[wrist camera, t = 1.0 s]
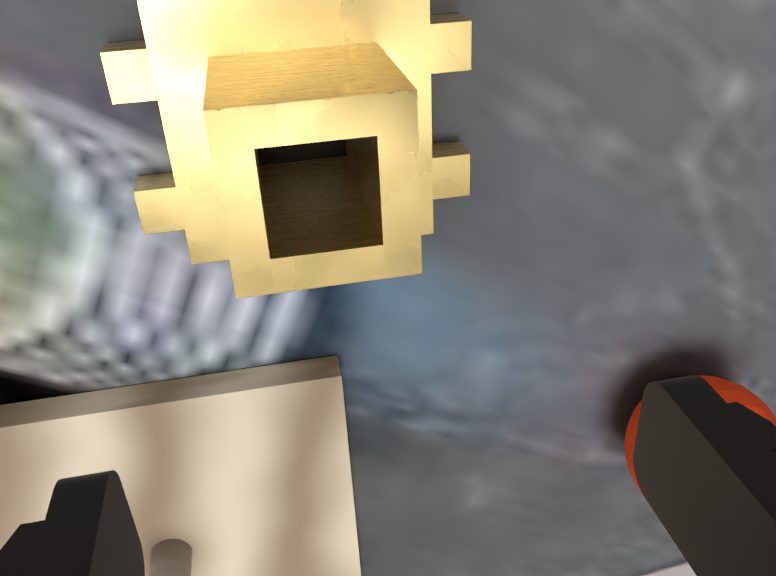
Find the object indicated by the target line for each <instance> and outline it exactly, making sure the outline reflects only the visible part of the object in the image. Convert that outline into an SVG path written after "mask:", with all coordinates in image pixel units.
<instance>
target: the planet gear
mask: <svg viewBox="0 0 776 576" xmlns="http://www.w3.org/2000/svg"><path fill="white" fill-rule="evenodd" d="M137 3H138V8H139V13H140V18H141V22H142V27H143V32H144V37H145V40H134V41H122V42H111V43H107V44H106V45H105V46H104V48H103V49H102V51H101V52H100V55H101V59H102V63H103V67H104V71H105V75H106V79H107V84H108V88H109V92H110V96H111V100H112V104H122V103H132V102H143V101H153V100H158V104H159V109H160V114H161V119H162V123H163V128H164V133H165V138H166V143H167V147H168V152H169V157H170V162H171V167H172V171H173V172H170V173H161V174H152V175H143V176H138V178H137V182H136V185H135V189H134V196H135V200H136V204H137V208H138V212H139V217H140V221H141V225H142V229H143V233H144V234H151V233H159V232H168V231H176V230H184V229H185V234H186V239H187V243H188V248H189V253H190V258H191V263H192V264H198V263H206V262H214V261H222V260H229V262H230V267H231V273H232V279H233V284H234V290H235V295H236V299H237V298H244V297H251V296H259V295H266V294H274V293H281V292H289V291H296V290H303V289H311V288H318V287H326V286H333V285H341V284H348V283H355V282H363V281H370V280H378V279H385V278H393V277H400V276H407V275H415V274H422V253H421V235H426V234H434V232H433V199H441V198H450V197H458V196H466V195H470V153H469V152H468V151H467V150H466V149H465V148H464V146H463V145H462V144H461V143H460V142H459V141H453V142H444V143H435V144H432V108H431V74H435V73H445V72H455V71H466V70H471V28H472V21H471V20H470V19H468V18H466V17H465V16H463V15H462V14H460V13H454V14H442V15H430V0H137ZM343 139H345V141H346V153H347V156H340V157H331V158H321V159H312V160H303V161H294V162H285V163H276V164H267V165H260V162H259V155H258V148H268V147H277V146H286V145H296V144H305V143H315V142H324V141H333V140H343Z"/></svg>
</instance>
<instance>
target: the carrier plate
mask: <svg viewBox="0 0 776 576" xmlns="http://www.w3.org/2000/svg"><path fill="white" fill-rule="evenodd" d="M111 470H115V471H116V472H117V473H118V475H119V477H120V480H121V483H122V486H123V489H124V492H125V495H126V498H127V501H128V504H129V507H130V510H131V514H132V517H133V520H134V523H135V526H136V529H137V532H138V535H139V538H140V541H141V545H142V550H143V557H144V567H145V576H361V569H360V559H359V549H358V539H357V529H356V518H355V508H354V498H353V488H352V478H351V467H350V457H349V447H348V437H347V427H346V416H345V406H344V396H343V386H342V376H341V371H340V367H339V362H338V358H337V355H335V356H328V357H322V358H315V359H308V360H301V361H295V362H288V363H281V364H274V365H267V366H261V367H254V368H247V369H240V370H234V371H227V372H220V373H213V374H207V375H200V376H193V377H186V378H180V379H173V380H166V381H159V382H153V383H146V384H139V385H132V386H126V387H119V388H112V389H105V390H99V391H92V392H85V393H78V394H72V395H65V396H58V397H51V398H45V399H38V400H31V401H24V402H18V403H11V404H4V405H0V550H1V548H2V547H3V546H4V545H5V543H6V542H7V541H8V539H9V538H10V537H11V536H12V534H13V533H14V532H15V531H16V529H17V528H18V527H19V525H20V524H25V523H31V522H37V521H42V520H45V518H46V514H47V511H48V507H49V503H50V500H51V496H52V493H53V489H54V486H55V484H56V482H57V481H58V480H59V479H63V478H69V477H75V476H81V475H87V474H93V473H99V472H105V471H111Z"/></svg>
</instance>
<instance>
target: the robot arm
mask: <svg viewBox="0 0 776 576" xmlns="http://www.w3.org/2000/svg"><path fill="white" fill-rule="evenodd" d="M633 466H634V472H635V476H636V479H637V483H638V485H639V488H640V490H641V492H642V493H643V495H644V497H645V498H646V500H647V501H648V503H649V504H650V506H651V507H652V509H653V510H654V512H655V513H656V515H657V516H658V518H659V519H660V521H661V522H662V524H663V525H664V527H665V529H666V530H667V532H668V533H669V535H670V536H671V538H672V539H673V541H674V542H675V544H676V545H677V547H678V548H679V550H680V551H681V553H682V554H683V556H684V557H685V559H686V560H687V562H688V563H689V565H690V566H691V568H692V569H693V571H694V572H695V574H696V575H697V576H776V427H775V426H774V425H773V423H772V422H771V421H769V420H767V419H766V418H764V417H762V416H761V415H759V414H757V413H755V412H754V411H752V410H750V409H749V408H747V407H745V406H743V405H742V404H740V403H738V402H732V403H726V402H725V400H724V399H723V398H722V397H721V396H720V395H719V394H718V393H717V392H716V391H715V390H714V389H713V388H712V386H711V385H710V384H709V383H708V382H707V381H706V380H705V379H704V378H702V377H700V376H698V375H690V376H684V377H678V378H672V379H666V380H660V381H654V382H650V383H648V384H647V385H646V387H645V389H644V392H643V397H642V403H641V409H640V415H639V421H638V427H637V433H636V440H635V446H634V452H633ZM0 576H145V567H144V557H143V550H142V545H141V541H140V538H139V535H138V532H137V529H136V526H135V523H134V520H133V517H132V514H131V510H130V507H129V504H128V501H127V498H126V495H125V492H124V489H123V486H122V483H121V480H120V477H119V475H118V473H117V472H116V471H115V470H111V471H105V472H99V473H93V474H87V475H81V476H75V477H69V478H63V479H59V480H58V481H57V482H56V484H55V486H54V489H53V493H52V496H51V500H50V503H49V507H48V511H47V514H46V518H45V520H42V521H37V522H31V523H25V524H20V525H19V527H18V528H17V529H16V531H15V532H14V533H13V534H12V536H11V537H10V538H9V539H8V541H7V542H6V543H5V545H4V546H3V547H2V548H1V550H0Z"/></svg>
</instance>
